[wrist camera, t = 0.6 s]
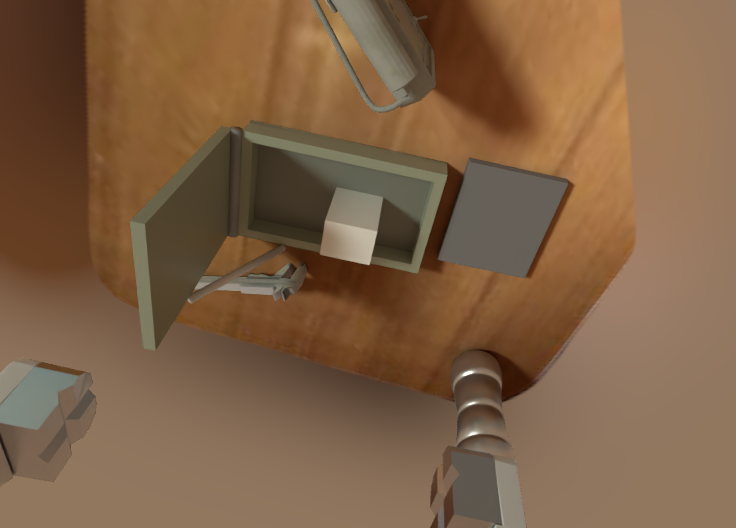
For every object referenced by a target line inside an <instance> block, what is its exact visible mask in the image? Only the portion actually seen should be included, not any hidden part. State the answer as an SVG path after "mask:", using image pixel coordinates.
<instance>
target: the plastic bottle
mask: <svg viewBox="0 0 736 528" xmlns="http://www.w3.org/2000/svg"><path fill="white" fill-rule="evenodd" d="M450 381H451V385H452V389H453V392H454V395H455V402H456V408H457V437H456V445H455V447H459V448H464V449H469V450H474V451H480V452H485V453H490V454H491V455H497V456H502V457H507V458H512V459H514V461H515V456H514V452H513V448H512V445H511V442H510V439H509V436H508V433H507V430H506V426H505V421H504V417H503V411H502V398H501V390H502V371H501V368H500V366H499V363H498V361H497V360H496V359H495V358H494V357H493V356H492V355H490V354H489V353H487V352H485V351H481V350H471V351H467V352H464V353H462V354H461V355H460V356H458V357H457V358H456V359H455V361H454V362H453V364H452V367H451V373H450Z"/></svg>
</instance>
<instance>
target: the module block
mask: <svg viewBox="0 0 736 528" xmlns="http://www.w3.org/2000/svg"><path fill="white" fill-rule="evenodd" d="M382 201H383V197H380V196H376V195H371V194H366V193H362V192H357V191H353V190H348V189H343V188H339V187H336V190H335V193H334V196H333V199H332V202H331V205H330V208H329V211H328V214H327V217H326V219H325V225H324V231H323V237H322V244H321V250H320V255H323V256H328V257H333V258H338V259H342V260H347V261H352V262H356V263H361V264H366V265H370V261H371V257H372V252H373V248H374V244H375V239H376V235H377V231H378V225H379V219H380V213H381V207H382Z"/></svg>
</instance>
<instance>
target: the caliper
mask: <svg viewBox="0 0 736 528" xmlns="http://www.w3.org/2000/svg"><path fill="white" fill-rule="evenodd" d="M293 270H294V269H293V266H292V263H291V264H287V265H285V266H284V267H283V268H282V269H280V270H279V271H278V272H277V273H275V274H274V275H273V276H267V275H265V274H262V273H260V274H254V273H250V274H248V276H247V277H238V278H236V279H234V280H233V281H231V282H229V283H227V284H225V285H224V286H222V287H220V288H218V289H217V290H232V291H241V293H248V294H267V295H273V297H274V300H275V301H276V300H278V299H279V298H281V297H282V296H283V299H284V301H286V299H287V298H288V297H289V295H295V293H296V292H297V291H298V290H299V288H300V287H301V286H302V284H303V282H304V279H305V276H306V273H307V268H306V265H305V263H301V265H300V266H299V267H298V268H297V270H296V271H295V272H294V274H293V275H292V276H291V277H290V279H288V278H289V276H290V275H291V274H292V272H293ZM221 277H223V276H202V277H201V279H200V281H199V282H198V284H197V285H196V287H195V289H201V288H203V287H204V286H206V285H208V284H210V283H212V282H214V281H215V280H217V279H219V278H221Z"/></svg>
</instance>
